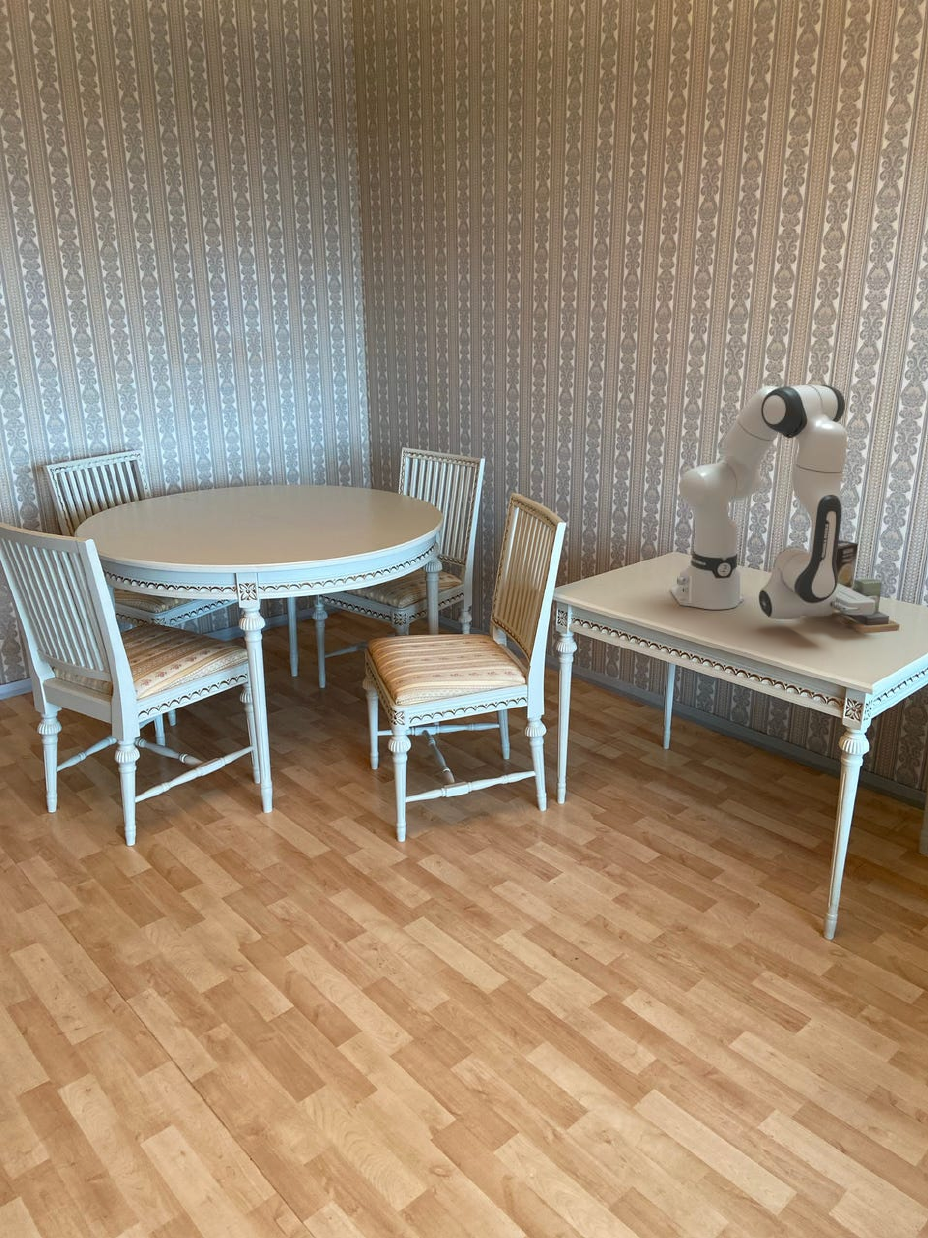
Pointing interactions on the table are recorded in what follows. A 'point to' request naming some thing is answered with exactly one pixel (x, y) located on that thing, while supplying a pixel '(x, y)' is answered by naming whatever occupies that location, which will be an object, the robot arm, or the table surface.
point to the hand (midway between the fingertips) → (869, 595)
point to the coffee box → (846, 562)
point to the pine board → (860, 626)
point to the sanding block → (867, 588)
